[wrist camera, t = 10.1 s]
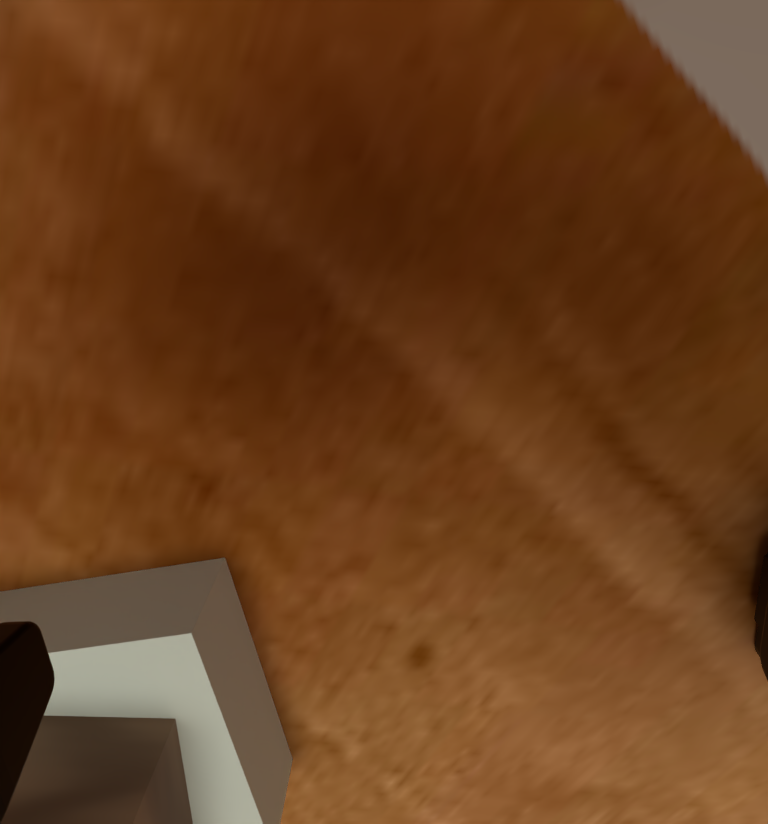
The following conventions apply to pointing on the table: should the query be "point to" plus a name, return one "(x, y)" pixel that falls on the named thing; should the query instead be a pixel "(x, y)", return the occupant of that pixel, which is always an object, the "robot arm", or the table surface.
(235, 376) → the table surface
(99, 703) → the base block
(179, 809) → the walnut cube
